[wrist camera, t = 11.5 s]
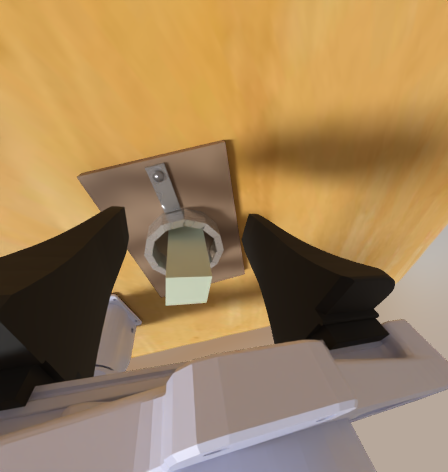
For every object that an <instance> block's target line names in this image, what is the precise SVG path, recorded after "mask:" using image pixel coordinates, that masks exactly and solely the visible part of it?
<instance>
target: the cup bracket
mask: <svg viewBox="0 0 448 472" xmlns="http://www.w3.org/2000/svg"><path fill="white" fill-rule="evenodd" d="M77 178H78V180H79V181H80V183H81V184H82V185H83V187H84V188H85V190H86V191H87V193H88V194H89V195H90V197H91V198H92V200H93V201H94V203H95V204H96V205H97V207H98V208H99V210H100V211H101V212H102V211H103V210H105V209H107V208H109V207H111V206H120V207H125V213H126V219H127V226H128V232H129V242H128V247H127V250H128V251H129V252H130V254H131V255H132V257H133V258H134V260H135V261H136V262H137V264H138V265H139V267H140V268H141V270H142V271H143V272H144V274H145V275H146V277H147V278H148V280H149V281H150V282H151V284H152V285H153V287H154V288H155V290H156V291H157V292H158V294H159V295H160V297H165V296H166V264H167V247H168V231H169V230H171V229H175V228H179V227H183V226H187V227H193V228H198V229H203V232H204V237H205V242H206V247H207V252H208V257H209V262H210V267H211V272H212V280H211V283H215V282H218V281H222V280H225V279H229V278H233V277H236V276H240V275H243V274H245V272H244V265H243V258H242V252H241V245H240V238H239V231H238V225H237V218H236V211H235V205H234V198H233V191H232V185H231V178H230V171H229V164H228V158H227V151H226V144H225V141H224V140H221V141H217V142H213V143H209V144H204V145H200V146H196V147H192V148H187V149H183V150H179V151H175V152H170V153H166V154H162V155H158V156H153V157H149V158H145V159H141V160H136V161H132V162H128V163H124V164H119V165H115V166H111V167H107V168H102V169H98V170H94V171H90V172H85V173H81V174H80V175H79V176H77Z"/></svg>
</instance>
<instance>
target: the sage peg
mask: <svg viewBox="0 0 448 472" xmlns="http://www.w3.org/2000/svg"><path fill="white" fill-rule="evenodd" d="M211 280H212V272H211V267H210V262H209V257H208V252H207V247H206V242H205V237H204V232H203V229H198V228H193V227H187V226H183V227H179V228H175V229H171V230H169V231H168V247H167V264H166V306H168V305H182V304H195V303H207V298H208V294H209V289H210V285H211Z"/></svg>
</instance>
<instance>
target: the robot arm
mask: <svg viewBox="0 0 448 472" xmlns="http://www.w3.org/2000/svg"><path fill="white" fill-rule="evenodd" d="M128 242H129V232H128V226H127V219H126V213H125V207H120V206H111V207H109V208H107V209H105V210H103V211H102V212H100V213H98V214H97V215H95V216H93V217H92V218H90V219H88V220H87V221H85V222H83V223H81V224H79V225H77V226H76V227H74V228H72V229H70V230H68V231H66V232H64V233H62V234H60V235H58V236H56V237H54V238H51V239H49V240H46V241H44V242H42V243H39V244H37V245H34V246H32V247H29V248H26V249H23V250H20V251H18V252H15V253H12V254H9V255H6V256H3V257H0V472H377V471H376V470H375V468H374V466H373V464H372V462H371V460H370V458H369V457H368V455H367V453H366V451H365V449H364V447H363V445H362V444H361V441H360V440H359V438H358V436H357V434H356V432H355V430H354V428H353V427H352V425H351V422H354V421H357V420H360V419H363V418H366V417H369V416H372V415H375V414H378V413H381V412H384V411H387V410H389V409H393V408H395V407H398V406H402V405H405V404H407V403H411V402H414V401H417V400H419V399H422V398H425V397H427V396H430V395H433V394H436V393H438V392H441V391H444V390H447V389H448V361H447V360H445V358H444V357H442V355H441V354H440V353H439V352H438V351H437V350H436V349H434V348H433V347H432V346H431V345H430V344H429V343H428V342H427V341H426V340H425V339H424V338H423V337H422V336H421V335H420V334H419V333H418V332H417V331H416V330H415V329H414V328H413V327H412V326H411V325H410V324H409V323H408V322H407V321H406V320H404V319H401V320H393V321H387V322H384V323H383V324H380V323H379V322H378V321H377V319H376V318H378V317H379V314H378V313H377V312H376V311H375V310H374V308H375V307H376V306H377V305H378V304H380V303H381V302H382V301H383V300H384V299H385V298H386V297H387V296H388V295H389V294H390V293H391V292H392V291H393V289H394V286H395V281H394V279H392V278H391V277H390V276H389V275H388V274H386V273H385V272H384V271H382V270H381V269H378V268H375V267H371V266H367V265H364V264H360V263H356V262H353V261H350V260H347V259H344V258H341V257H338V256H335V255H332V254H330V253H327V252H325V251H323V250H320V249H318V248H316V247H313V246H311V245H309V244H307V243H305V242H303V241H301V240H299V239H298V238H296V237H294V236H292V235H291V234H289V233H287V232H286V231H284V230H283V229H281V228H279V227H278V226H276V225H275V224H273V223H272V222H270V221H269V220H267V219H266V218H264V217H262V216H260V215H258V214H249V216H248V219H247V222H246V226H245V229H244V233H243V236H242V243H243V247H244V250H245V253H246V255H247V258H248V260H249V262H250V265H251V267H252V269H253V271H254V274H255V276H256V278H257V281H258V283H259V286H260V289H261V292H262V296H263V299H264V302H265V306H266V310H267V313H268V317H269V321H270V325H271V330H272V334H273V339H274V344H273V345H267V346H260V347H254V348H248V349H242V350H235V351H229V352H222V353H216V354H212V355H208V356H205V357H201V358H197V359H194V360H192V361H187V362H181V363H175V364H170V365H163V366H157V367H151V368H144V369H139V370H132V371H126V369H127V367H128V365H129V363H130V360H131V355H132V349H133V343H134V337H135V332H136V326H137V325H141V324H142V321H141V320H140V319H139V318H138V317H137V316H136V315H135V314H134V313H133V312H132V311H131V310H130V309H129V308H128V306H127V305H126V304H125V303H124V302H123V301H122V300H121V299H120V298H119V297H118V296H117V295H116V294H111V293H112V289H113V286H114V284H115V281H116V278H117V276H118V273H119V271H120V268H121V265H122V263H123V260H124V257H125V254H126V251H127V247H128ZM125 371H126V372H125Z"/></svg>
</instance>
